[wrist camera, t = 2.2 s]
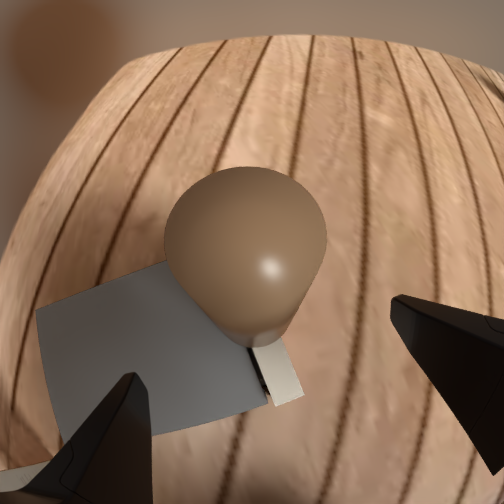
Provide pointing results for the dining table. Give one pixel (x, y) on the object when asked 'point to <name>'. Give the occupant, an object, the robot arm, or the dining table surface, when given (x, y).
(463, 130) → the dining table surface
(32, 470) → the small box
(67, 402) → the grey drawer housing
